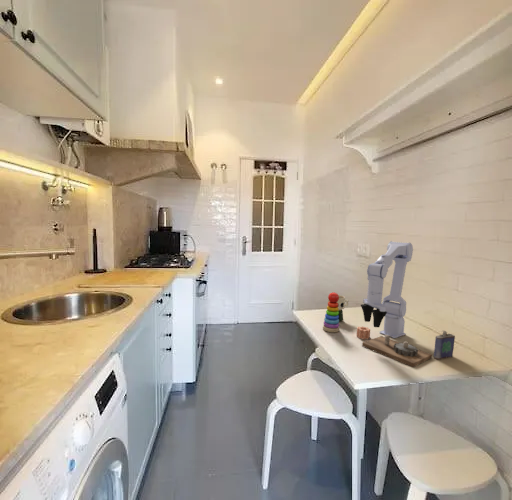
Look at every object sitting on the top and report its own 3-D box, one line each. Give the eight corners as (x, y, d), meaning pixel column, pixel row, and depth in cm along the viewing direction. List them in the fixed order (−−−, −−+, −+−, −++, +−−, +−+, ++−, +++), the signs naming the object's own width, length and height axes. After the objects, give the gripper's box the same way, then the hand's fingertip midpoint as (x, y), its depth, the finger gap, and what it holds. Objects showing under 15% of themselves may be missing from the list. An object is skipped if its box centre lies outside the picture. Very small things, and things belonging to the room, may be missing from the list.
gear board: (381, 339, 138) (382, 327, 137) (431, 358, 120) (432, 344, 119) (362, 345, 130) (363, 333, 129) (413, 367, 112) (414, 353, 111)
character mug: (328, 322, 159) (329, 298, 157) (325, 317, 166) (326, 294, 164) (349, 322, 158) (350, 298, 157) (345, 318, 165) (346, 295, 164)
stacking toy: (322, 331, 145) (324, 293, 143) (322, 326, 152) (324, 289, 150) (339, 333, 143) (341, 295, 141) (339, 328, 151) (341, 291, 149)
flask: (437, 360, 118) (440, 333, 117) (430, 357, 121) (433, 331, 120) (454, 357, 121) (457, 331, 120) (447, 354, 124) (450, 328, 123)
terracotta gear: (361, 333, 144) (362, 325, 143) (372, 337, 139) (372, 329, 139) (354, 336, 140) (354, 327, 140) (364, 340, 136) (365, 331, 135)
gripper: (357, 288, 132) (354, 318, 133) (375, 295, 118) (371, 329, 119) (372, 289, 133) (369, 319, 134) (391, 296, 119) (388, 330, 120)
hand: (371, 324), depth 127 cm, fingers open, 7 cm apart
